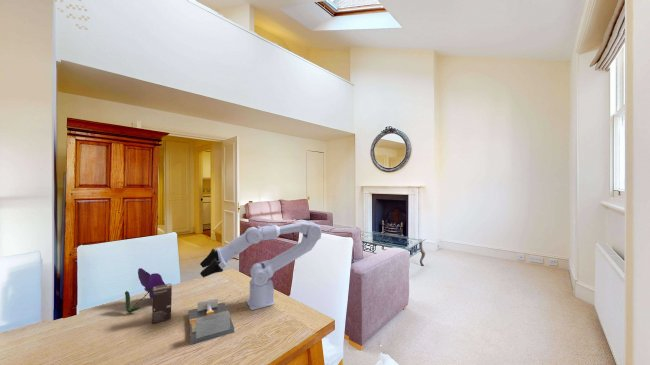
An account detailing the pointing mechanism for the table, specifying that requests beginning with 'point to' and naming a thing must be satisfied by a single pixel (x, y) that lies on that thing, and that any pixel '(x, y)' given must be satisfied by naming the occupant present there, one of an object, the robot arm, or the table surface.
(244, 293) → the table surface
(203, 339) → the sloped base with peg
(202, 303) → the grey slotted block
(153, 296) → the box
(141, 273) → the flower
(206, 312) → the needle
